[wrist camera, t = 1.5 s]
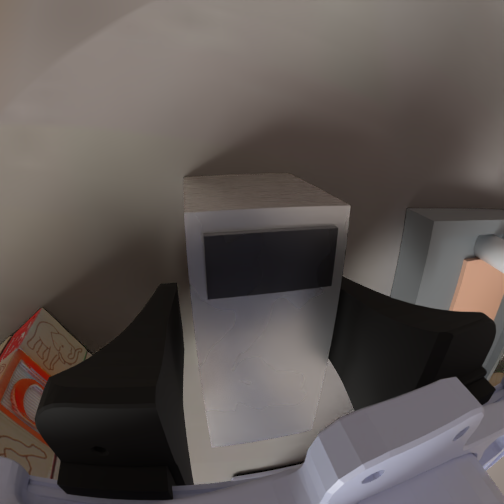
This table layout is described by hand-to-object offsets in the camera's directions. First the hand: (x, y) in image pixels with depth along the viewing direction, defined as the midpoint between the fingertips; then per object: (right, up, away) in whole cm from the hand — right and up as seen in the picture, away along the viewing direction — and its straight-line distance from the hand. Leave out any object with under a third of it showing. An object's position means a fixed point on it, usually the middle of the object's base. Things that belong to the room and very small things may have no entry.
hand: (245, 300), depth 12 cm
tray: (+14, -3, +6) cm, 16 cm away
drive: (0, +1, +1) cm, 2 cm away
